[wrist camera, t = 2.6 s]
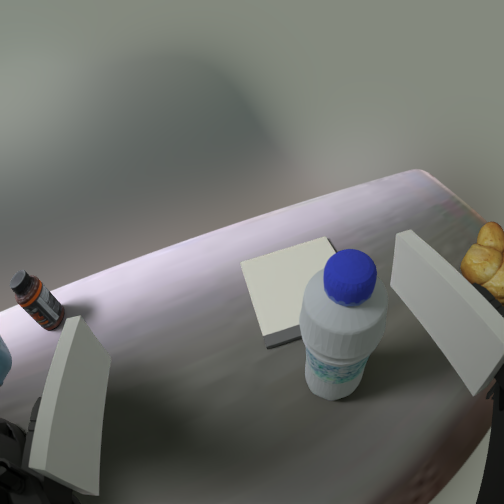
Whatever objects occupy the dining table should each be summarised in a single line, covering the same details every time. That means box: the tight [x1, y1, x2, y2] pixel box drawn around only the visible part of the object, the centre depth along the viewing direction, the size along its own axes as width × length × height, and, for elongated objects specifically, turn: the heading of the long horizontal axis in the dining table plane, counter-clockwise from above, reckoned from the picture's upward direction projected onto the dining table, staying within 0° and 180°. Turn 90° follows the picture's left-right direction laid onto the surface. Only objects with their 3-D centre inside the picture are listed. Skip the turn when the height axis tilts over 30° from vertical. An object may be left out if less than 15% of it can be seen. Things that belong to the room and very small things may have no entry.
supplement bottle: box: [10, 270, 64, 330], centre depth 40 cm, size 6×6×11 cm
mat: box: [240, 237, 336, 349], centre depth 40 cm, size 14×15×1 cm
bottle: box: [299, 249, 388, 401], centre depth 24 cm, size 7×7×20 cm
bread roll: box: [461, 222, 504, 306], centre depth 31 cm, size 13×10×8 cm
